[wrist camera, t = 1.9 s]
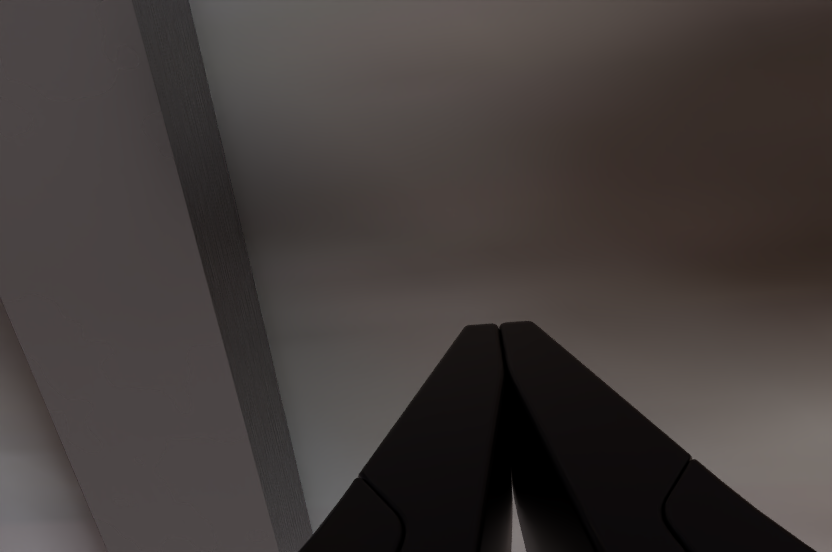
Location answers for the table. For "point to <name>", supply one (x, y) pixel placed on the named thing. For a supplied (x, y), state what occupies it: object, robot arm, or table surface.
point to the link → (139, 280)
